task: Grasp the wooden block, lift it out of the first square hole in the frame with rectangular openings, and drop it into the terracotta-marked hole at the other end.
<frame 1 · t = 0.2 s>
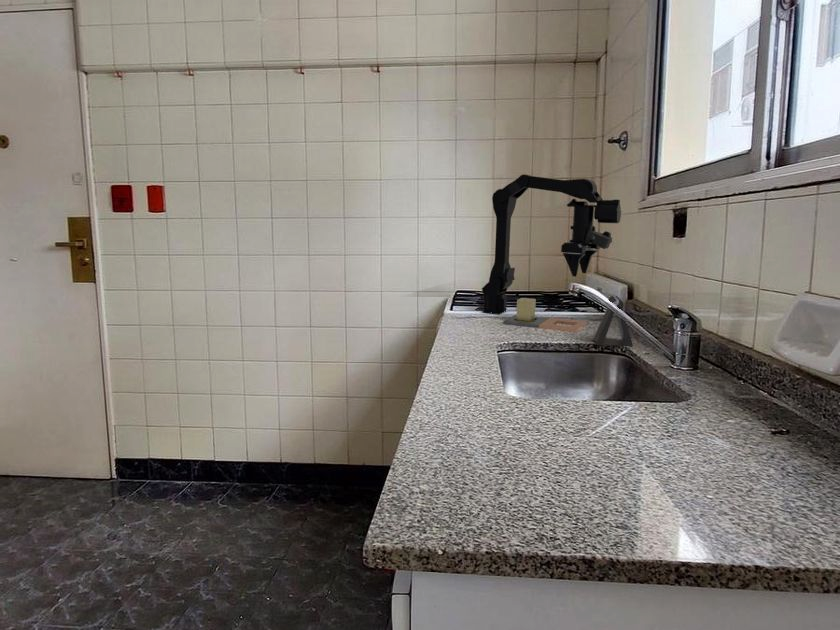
hand: (579, 274, 169), 14 cm above the worktop, fingers open, 9 cm apart
frame with rectangular openings: (544, 323, 167), on the worktop
phone stand: (612, 343, 145), on the worktop
wooden block: (525, 322, 170), resting in frame with rectangular openings
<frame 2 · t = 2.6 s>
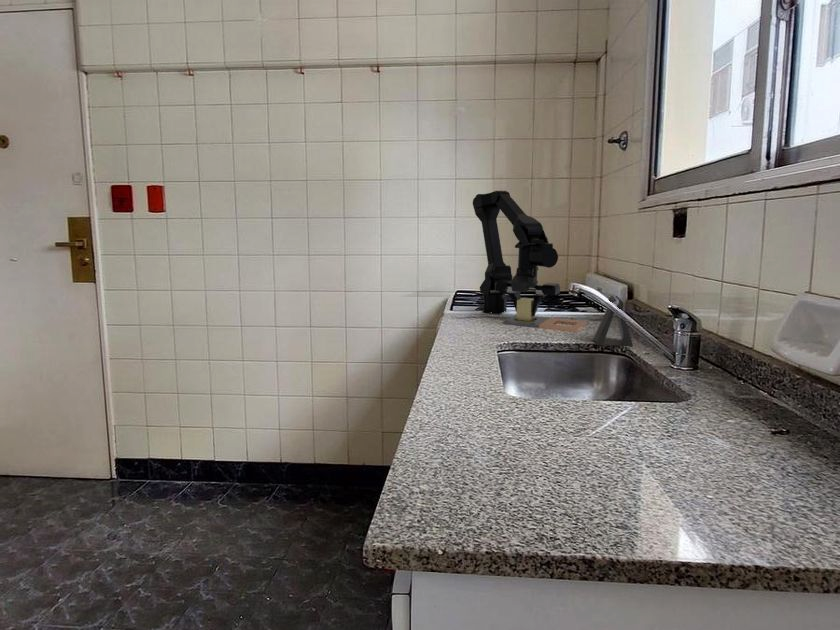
hand: (525, 315, 170), 2 cm above the worktop, fingers closed on wooden block, 4 cm apart
wooden block: (525, 322, 170), resting in frame with rectangular openings, touching gripper
everything else where it was.
when the fingers open (3 cm above the worktop, at t = 7.0 s): wooden block drops 2 cm, resting in frame with rectangular openings.
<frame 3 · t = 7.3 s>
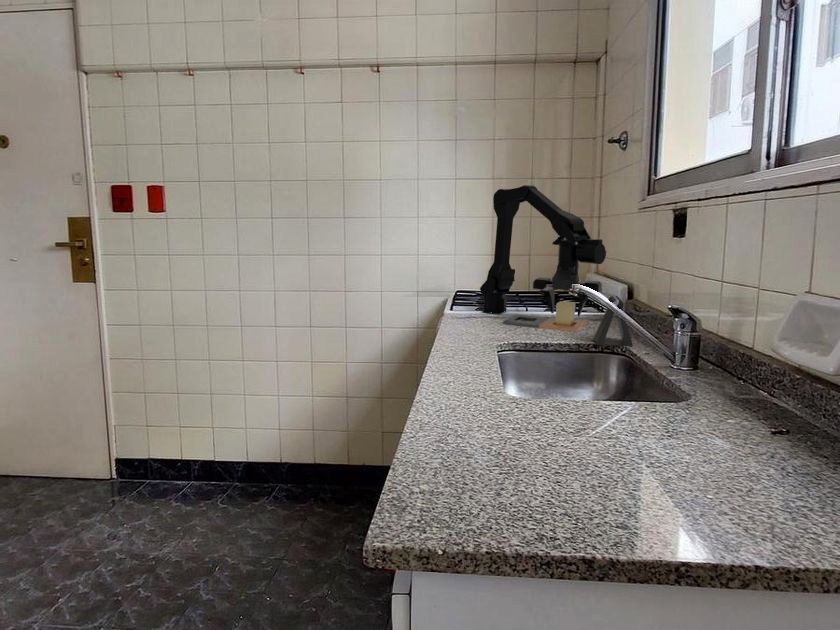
hand: (565, 314, 164), 3 cm above the worktop, fingers open, 7 cm apart
wooden block: (564, 326, 164), resting in frame with rectangular openings
everything else where it was.
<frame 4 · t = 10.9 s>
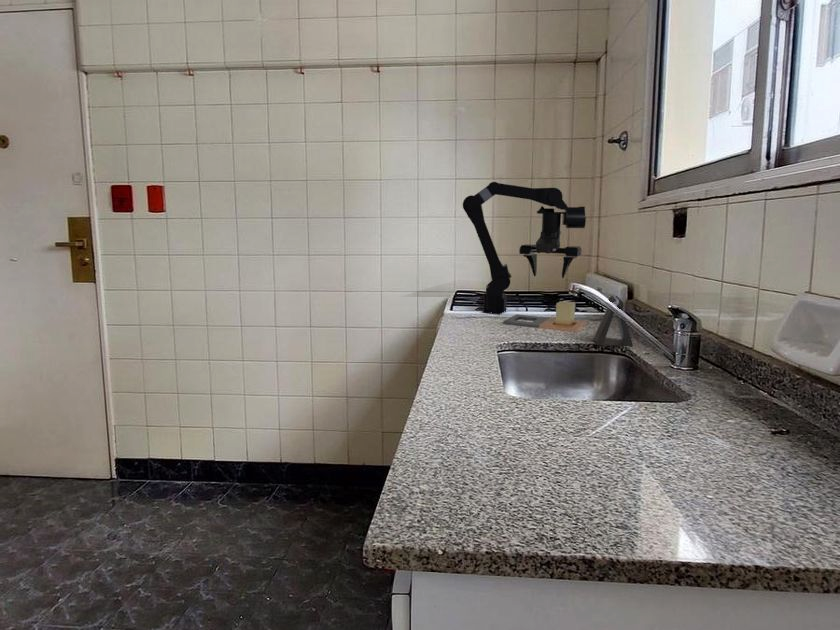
hand: (548, 277, 181), 12 cm above the worktop, fingers open, 9 cm apart
nothing on the worktop moved.
at the end: wooden block 0.1 cm from the target spot on the frame with rectangular openings, point 0.0 cm above the frame with rectangular openings's base; wooden block tilted 0°; the gripper is holding nothing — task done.
